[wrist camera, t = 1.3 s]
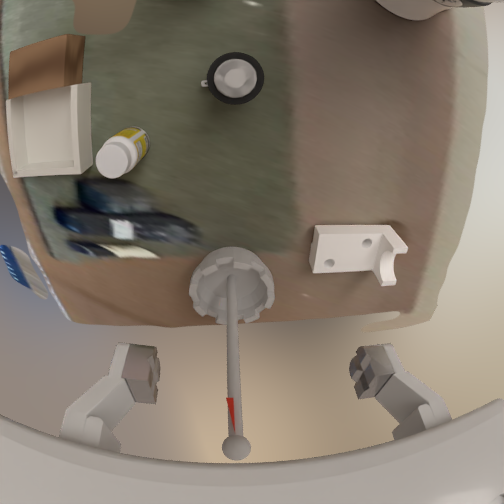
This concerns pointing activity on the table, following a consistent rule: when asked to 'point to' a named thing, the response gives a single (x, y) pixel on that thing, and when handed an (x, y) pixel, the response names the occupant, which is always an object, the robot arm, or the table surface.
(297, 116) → the table surface
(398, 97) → the table surface
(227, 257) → the flag stand
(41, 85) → the walnut step
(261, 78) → the push button
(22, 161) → the grey tray
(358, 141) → the table surface
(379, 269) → the bracket
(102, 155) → the supplement bottle
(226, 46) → the table surface
